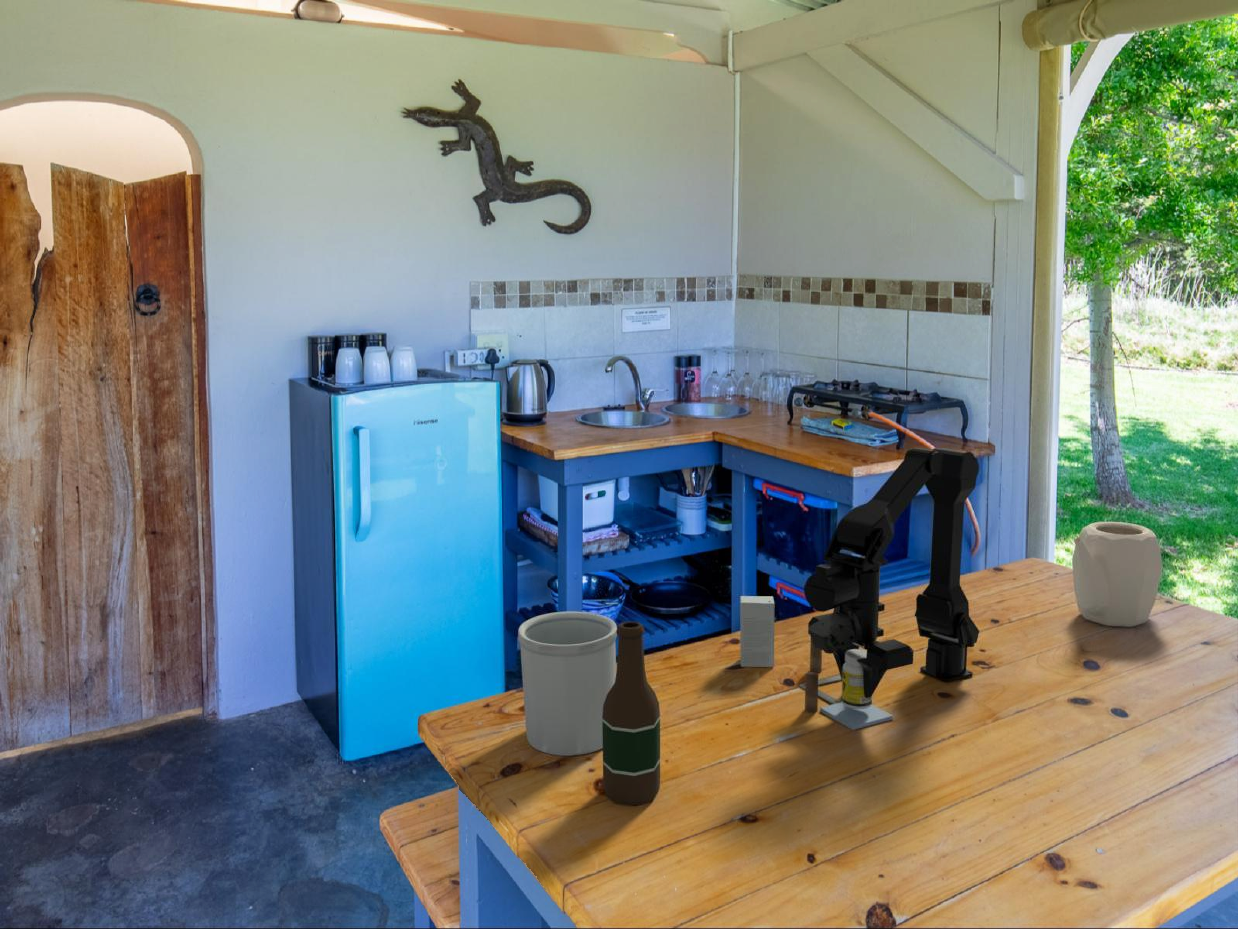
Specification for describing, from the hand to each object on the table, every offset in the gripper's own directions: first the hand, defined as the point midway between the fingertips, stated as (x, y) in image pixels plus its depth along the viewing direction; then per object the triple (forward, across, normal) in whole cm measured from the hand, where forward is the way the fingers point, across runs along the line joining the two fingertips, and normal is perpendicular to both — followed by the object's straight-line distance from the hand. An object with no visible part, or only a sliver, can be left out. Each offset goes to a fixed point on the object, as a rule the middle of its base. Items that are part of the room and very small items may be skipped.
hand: (857, 691), depth 166 cm
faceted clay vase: (+4, -11, +73) cm, 74 cm away
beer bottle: (+4, +5, -43) cm, 44 cm away
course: (+4, -11, +1) cm, 12 cm away
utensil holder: (+4, -15, -43) cm, 46 cm away
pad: (+4, 0, 0) cm, 4 cm away
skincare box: (+4, -26, -1) cm, 26 cm away
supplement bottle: (+2, 0, 0) cm, 2 cm away
